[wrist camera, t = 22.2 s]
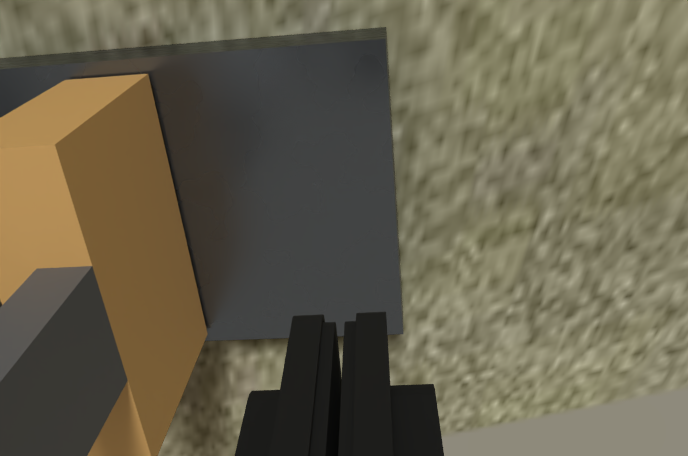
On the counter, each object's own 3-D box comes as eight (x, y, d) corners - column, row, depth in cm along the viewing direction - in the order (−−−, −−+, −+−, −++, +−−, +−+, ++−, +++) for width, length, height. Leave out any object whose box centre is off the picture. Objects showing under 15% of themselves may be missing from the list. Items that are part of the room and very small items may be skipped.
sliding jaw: (138, 336, 28) (-62, 690, 15) (64, 79, 23) (-319, 304, 10) (207, 333, 27) (58, 693, 15) (148, 73, 22) (-146, 296, 10)
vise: (-24, 322, 31) (-169, 475, 23) (-131, 69, 25) (-372, 152, 17) (402, 306, 29) (406, 467, 21) (386, 27, 23) (383, 99, 15)
